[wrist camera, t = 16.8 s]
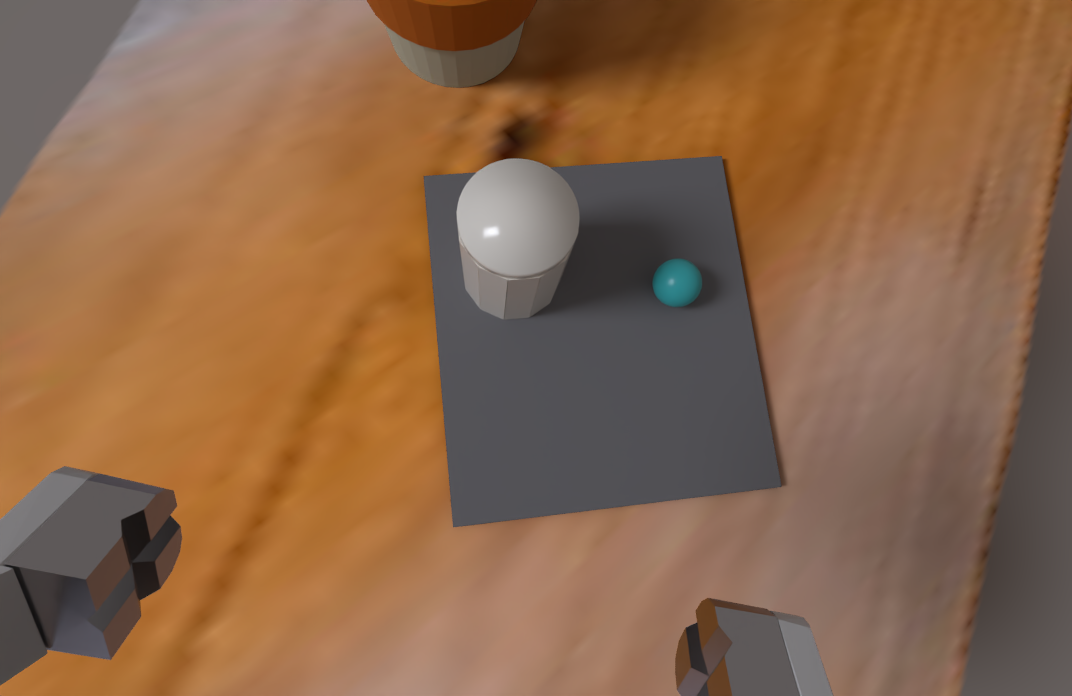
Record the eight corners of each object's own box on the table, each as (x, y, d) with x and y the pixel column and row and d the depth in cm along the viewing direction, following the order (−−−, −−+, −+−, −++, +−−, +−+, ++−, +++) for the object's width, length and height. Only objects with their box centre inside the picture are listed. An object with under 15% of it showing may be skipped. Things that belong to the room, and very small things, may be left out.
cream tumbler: (564, 314, 38) (586, 268, 29) (468, 323, 38) (462, 279, 29) (553, 224, 39) (571, 154, 30) (460, 231, 39) (451, 162, 30)
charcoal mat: (777, 486, 38) (781, 486, 37) (453, 526, 36) (453, 527, 35) (718, 159, 42) (721, 156, 41) (424, 179, 40) (423, 176, 39)
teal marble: (696, 310, 39) (713, 297, 36) (650, 314, 39) (664, 302, 36) (688, 265, 39) (704, 249, 37) (643, 269, 39) (656, 253, 36)
